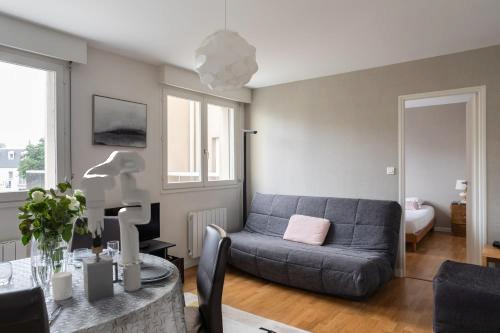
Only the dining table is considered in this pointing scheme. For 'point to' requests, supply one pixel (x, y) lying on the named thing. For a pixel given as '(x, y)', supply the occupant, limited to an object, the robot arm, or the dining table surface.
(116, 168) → the robot arm
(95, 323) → the dining table surface
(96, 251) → the plunger
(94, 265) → the press carafe
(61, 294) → the white cup
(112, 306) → the dining table surface
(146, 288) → the dining table surface
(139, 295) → the dining table surface
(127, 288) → the can
